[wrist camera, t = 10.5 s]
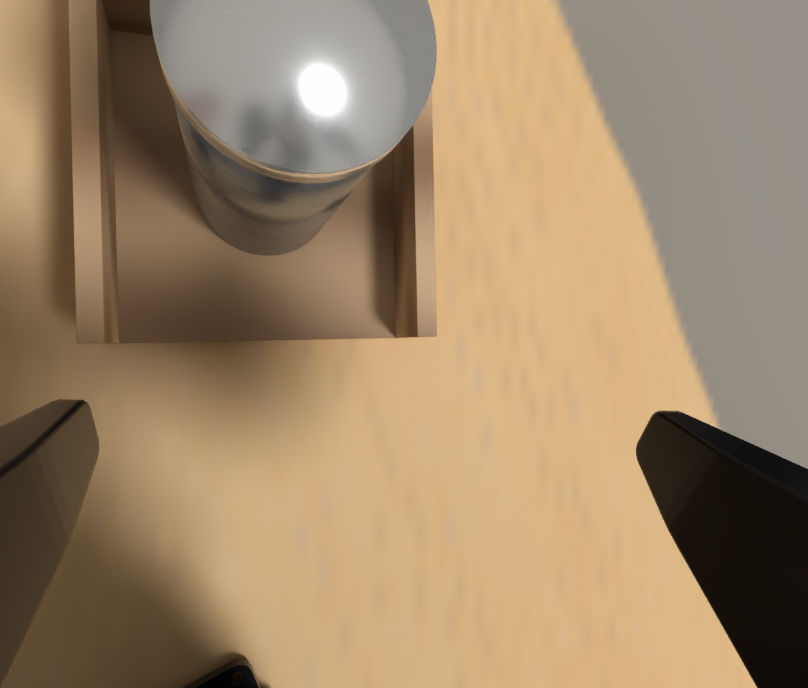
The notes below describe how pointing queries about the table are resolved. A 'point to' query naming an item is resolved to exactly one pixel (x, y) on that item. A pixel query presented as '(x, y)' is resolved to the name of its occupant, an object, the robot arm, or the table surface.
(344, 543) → the table surface
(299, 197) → the canister
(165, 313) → the holder
